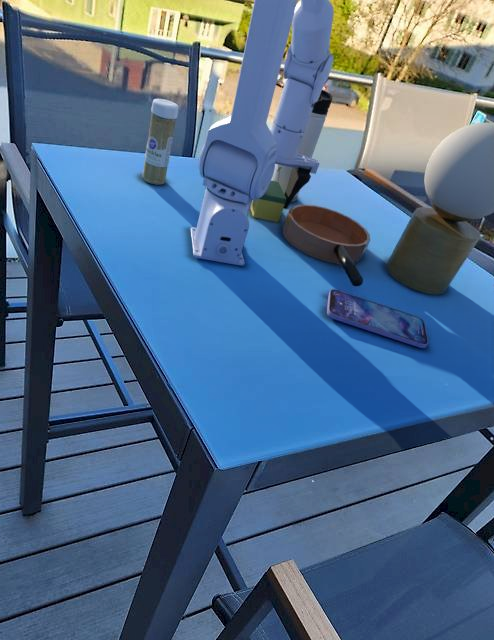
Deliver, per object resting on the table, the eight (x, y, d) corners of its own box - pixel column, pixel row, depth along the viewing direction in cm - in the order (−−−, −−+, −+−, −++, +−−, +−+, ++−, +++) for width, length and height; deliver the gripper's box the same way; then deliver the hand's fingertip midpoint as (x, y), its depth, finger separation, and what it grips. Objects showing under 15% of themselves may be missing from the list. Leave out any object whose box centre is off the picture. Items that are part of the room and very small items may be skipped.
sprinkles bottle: (137, 179, 90) (148, 99, 82) (148, 173, 94) (159, 96, 85) (159, 187, 90) (172, 108, 81) (169, 181, 93) (183, 104, 85)
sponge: (278, 222, 91) (286, 199, 88) (253, 217, 90) (260, 193, 87) (271, 204, 97) (278, 182, 94) (247, 199, 96) (253, 176, 93)
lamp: (381, 243, 95) (453, 103, 79) (451, 270, 94) (539, 132, 77) (375, 275, 84) (457, 118, 68) (454, 305, 82) (558, 153, 66)
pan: (372, 270, 85) (382, 252, 83) (291, 255, 82) (299, 236, 80) (347, 230, 96) (355, 213, 94) (275, 216, 93) (281, 198, 91)
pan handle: (361, 289, 75) (366, 279, 74) (350, 288, 75) (355, 277, 73) (340, 252, 83) (344, 242, 82) (330, 250, 83) (334, 240, 82)
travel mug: (295, 193, 105) (332, 90, 92) (296, 205, 100) (335, 97, 87) (267, 186, 104) (300, 80, 91) (267, 197, 99) (302, 87, 86)
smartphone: (429, 346, 69) (328, 312, 69) (426, 351, 69) (325, 318, 70) (424, 318, 74) (330, 287, 74) (421, 323, 75) (328, 292, 75)
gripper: (322, 128, 88) (296, 201, 97) (245, 110, 85) (226, 186, 94) (332, 141, 83) (304, 216, 92) (251, 122, 80) (230, 202, 89)
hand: (265, 202), depth 93 cm, fingers open, 7 cm apart
